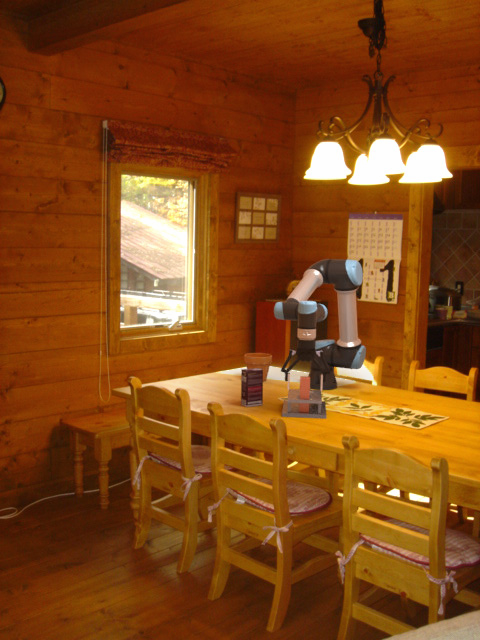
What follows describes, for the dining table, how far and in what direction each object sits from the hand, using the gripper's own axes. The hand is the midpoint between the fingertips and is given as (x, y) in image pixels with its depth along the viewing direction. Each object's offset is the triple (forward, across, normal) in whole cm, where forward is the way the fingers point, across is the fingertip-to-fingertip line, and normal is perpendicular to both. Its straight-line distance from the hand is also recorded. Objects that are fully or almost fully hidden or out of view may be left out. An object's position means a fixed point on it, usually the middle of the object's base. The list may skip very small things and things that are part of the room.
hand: (304, 389), depth 301 cm
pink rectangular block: (+9, 0, 0) cm, 9 cm away
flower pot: (+10, -24, +69) cm, 73 cm away
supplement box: (+10, -23, +12) cm, 28 cm away
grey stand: (+10, 0, +6) cm, 12 cm away
